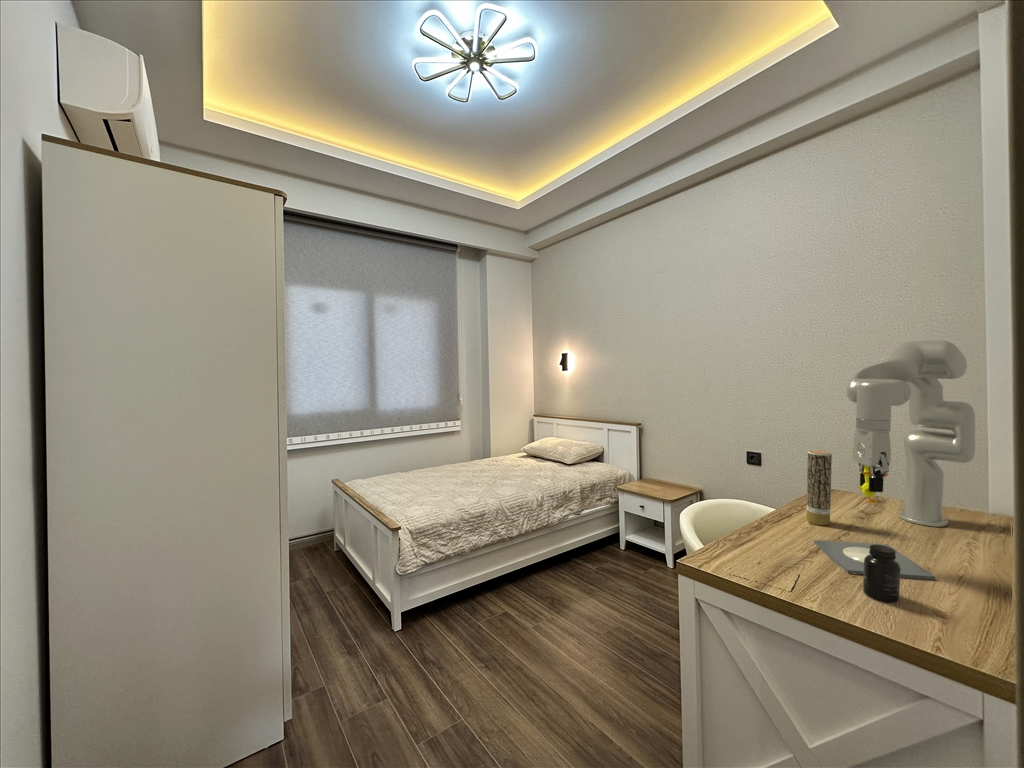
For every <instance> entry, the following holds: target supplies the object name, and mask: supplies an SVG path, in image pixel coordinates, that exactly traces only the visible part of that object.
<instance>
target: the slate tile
mask: <svg viewBox="0 0 1024 768" xmlns="http://www.w3.org/2000/svg"><path fill="white" fill-rule="evenodd" d="M814 543H815V544H816V545H818V546H819V547H820V548H821V549H822V550H823V551H824V552H825V553H826V554H827V555H828V556H827V557H829V558H830V559H831V561H833V562H834V563H835V562H836V563H837V564H838V565H839V566H838V567H839V568H841V567H842V568H843V569H844V570H845V571H846V572H848V573H856V574H855V575H857V574H864V559H865V557H866V556H868V555H870V554H869V551H870V546H871V545H875V544H876V545H883V546H887V547H890V548H892V549H894V550H895V552H896V553H895V556H896V559H895V561H897V562H898V563H899V565H900V579H911V580H924V581H925V580H927V581H936V576H935V574H932V573H931V572H929V571H928V570H927V569H925V568H924V567H922V566H921V565H919V564H918V563H916V562H915V561H913V560H912V559H910V558H908V557H907V556H906V555H904V554H903V553H901V552H899V550H897V549H895V548H894V547H893V546H892V545H889V544H885V543H869V542H867V543H866V542H855V541H854V542H852V541H849V542H848V541H838V540H837V541H836V540H819V539H814V540H813V544H814ZM815 544H814V545H815ZM816 545H815V546H816ZM818 546H817V547H818ZM819 547H818V548H819ZM820 548H819V549H820ZM821 549H820V550H821ZM822 550H821V551H822ZM823 551H822V552H823ZM824 552H823V553H824ZM825 553H824V554H825ZM826 554H825V555H826ZM836 563H835V564H836ZM837 564H836V565H837ZM842 568H841V569H842ZM843 569H842V570H843ZM844 570H843V571H844ZM845 571H844V572H845ZM846 572H845V573H846Z"/></svg>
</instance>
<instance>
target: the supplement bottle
mask: <svg viewBox="0 0 1024 768" xmlns="http://www.w3.org/2000/svg"><path fill="white" fill-rule="evenodd" d="M874 544H875V545H871V546H870V551H869V554H870V555H868V556H866V557H865V559H864V575H862V576H863V579H862V580H863V582H862V584H863V585H862V590H863V593H864V594H865V595H866V596H867V597H869V598H870V597H871V599H872V598H873V600H874V601H877V600H878V602H881V603H885V602H886V604H895V603H897V602H899V600H900V595H901V594H900V591H901V589H900V588H901V578H900V565H899V563H898V562H897V561H895V559H896V556H895V553H896V552H895V550H896V549H895V548H894V549H895V550H894V549H892V548H893V547H892V548H890V547H887V546H883V545H876V544H877V543H874Z"/></svg>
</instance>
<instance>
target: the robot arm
mask: <svg viewBox="0 0 1024 768" xmlns="http://www.w3.org/2000/svg"><path fill="white" fill-rule="evenodd" d="M967 367H968V361H967V358H966V356H965V355H964V354H963V352H962V351H961V350H960V348H958V346H957V345H955V344H954V343H953V342H951V341H949V340H943V339H941V340H915V341H914V340H913V341H912V340H911V341H905V342H903V343H900V344H899V345H898V346H896V348H895V349H894V350H893V351H892V353H891V354H890V355H889V356H888V358H887V359H886V360H883V361H881V362H879V363H876V364H873V365H869V366H866V367H864V368H862V369H860V370H859V371H857V372H856V373H855V374H854V376H853V377H852V378H851V379H850V380H849V382H848V385H847V387H846V396H847V398H848V399H849V401H851V403H855V404H856V409H855V410H856V413H855V416H856V417H855V418H856V419H855V420H856V421H855V433H854V436H853V444H852V459H853V461H854V462H856V463H858V466H859V474H860V475H859V486H863V485H864V484H865V483H866V482H865V475H864V474H863V471H864V465H865V466H867V467H870V470H871V477H869V491H870V492H876V493H883V492H884V479H885V474H886V473H887V474H889V472H890V466H891V458H892V450H891V449H892V448H891V437H890V432H891V426H892V425H891V421H892V407H894V406H895V407H899V406H903V405H904V404H906V403H907V402H908V415H909V421H910V423H911V425H913V426H916V427H920V428H928V429H935V430H936V429H937V430H946V431H948V430H949V431H952V432H944V431H943V432H942V431H937V430H936V431H933V430H921V429H920V430H919V429H918V430H911V431H909V432H907V433H906V434H905V436H904V437H903V446H904V453H905V459H906V462H905V463H906V464H905V465H906V471H905V475H906V477H905V499H904V500H905V501H904V502H902V504H901V505H902V507H904V510H903V511H900V512H898V516H899V518H900V519H902V520H904V521H906V522H909V523H913V524H917V525H921V526H927V527H936V528H937V527H939V528H940V527H942V528H943V527H946V526H948V525H949V520H948V519H947V518H944V517H943V500H944V499H943V498H944V497H943V496H944V479H945V477H944V476H945V475H944V471H943V469H942V467H941V466H940V465H939V464H938V463H937V462H936V461H943V462H944V461H945V462H952V463H959V464H965V463H966V464H967V463H970V462H971V461H973V459H974V457H975V455H976V413H975V409H974V407H973V406H972V405H971V404H969V403H967V402H965V401H964V402H963V401H954V400H953V401H952V400H951V401H950V400H944V387H943V384H942V383H941V381H940V380H941V379H942V380H957V379H960V378H962V377H963V376H964V375H965V374H966V372H967ZM939 379H940V380H939ZM877 465H878V466H877ZM875 471H876V472H875Z"/></svg>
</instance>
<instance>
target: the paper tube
mask: <svg viewBox="0 0 1024 768" xmlns="http://www.w3.org/2000/svg"><path fill="white" fill-rule="evenodd" d="M832 464H833V463H832V452H831V451H828V450H821V449H820V450H819V449H808V450H807V472H806V473H807V478H806V479H807V480H806V482H807V483H806V521H807V522H808V523H810V524H813V525H817V526H828V525H830V523H831V505H832V504H831V497H832V496H831V494H832Z"/></svg>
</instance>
